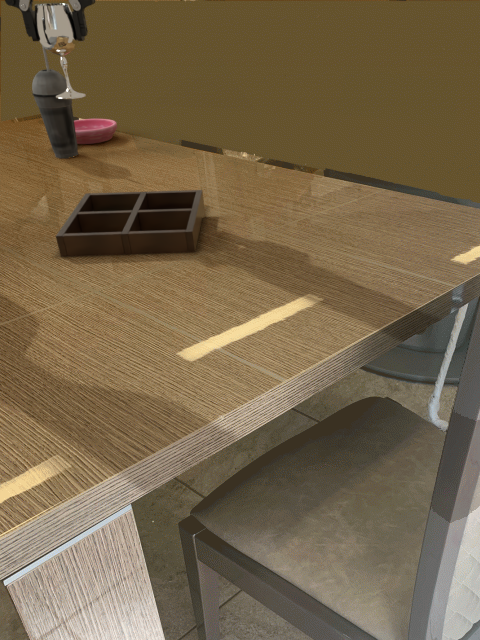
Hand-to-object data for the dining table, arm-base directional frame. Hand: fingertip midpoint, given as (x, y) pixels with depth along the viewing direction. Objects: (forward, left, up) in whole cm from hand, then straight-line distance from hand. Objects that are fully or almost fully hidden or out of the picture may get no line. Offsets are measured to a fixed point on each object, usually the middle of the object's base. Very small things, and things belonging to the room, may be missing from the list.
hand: (59, 40), depth 95 cm
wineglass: (0, 0, -8) cm, 8 cm away
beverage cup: (-11, +28, -23) cm, 38 cm away
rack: (+11, -20, -23) cm, 32 cm away
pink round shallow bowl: (-9, +41, -23) cm, 48 cm away
